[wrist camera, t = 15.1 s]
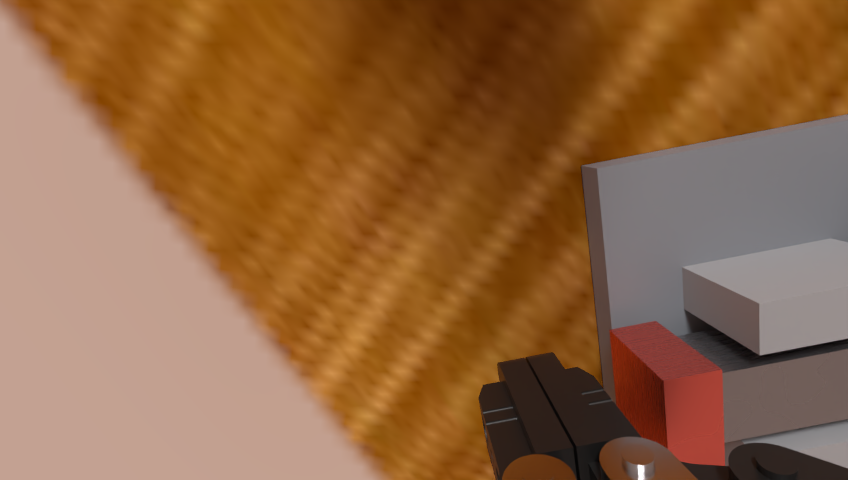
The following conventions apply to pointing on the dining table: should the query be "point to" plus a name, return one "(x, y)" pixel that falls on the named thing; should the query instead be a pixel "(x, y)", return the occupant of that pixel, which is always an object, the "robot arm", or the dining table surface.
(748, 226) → the mount
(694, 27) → the dining table surface
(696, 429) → the lock pin
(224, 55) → the dining table surface
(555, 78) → the dining table surface
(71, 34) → the dining table surface
